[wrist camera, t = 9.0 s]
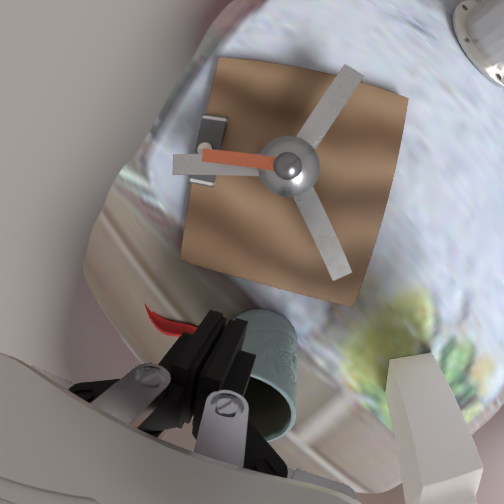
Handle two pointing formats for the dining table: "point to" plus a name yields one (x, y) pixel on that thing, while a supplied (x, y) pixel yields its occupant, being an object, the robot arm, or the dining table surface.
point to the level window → (214, 135)
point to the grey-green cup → (271, 372)
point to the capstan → (290, 167)
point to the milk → (430, 434)
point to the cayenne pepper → (170, 325)
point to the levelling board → (285, 208)
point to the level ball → (203, 147)
